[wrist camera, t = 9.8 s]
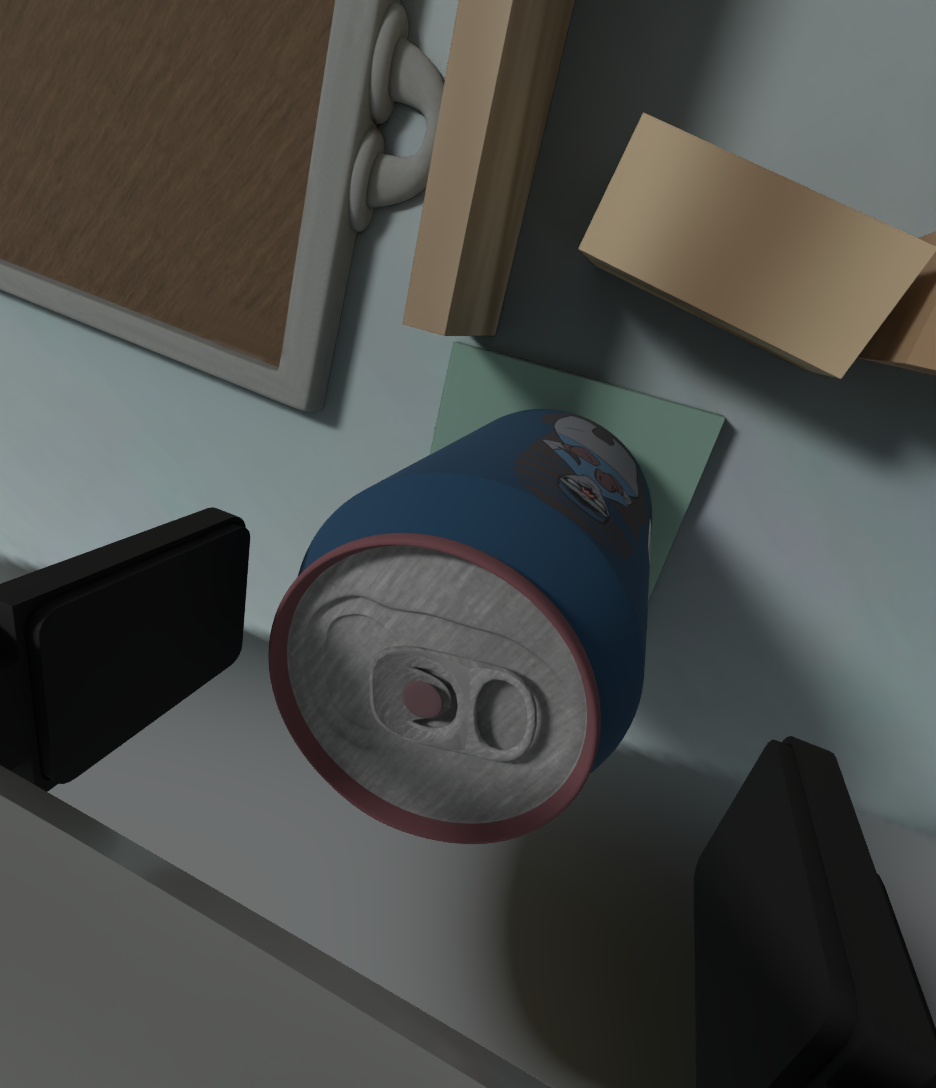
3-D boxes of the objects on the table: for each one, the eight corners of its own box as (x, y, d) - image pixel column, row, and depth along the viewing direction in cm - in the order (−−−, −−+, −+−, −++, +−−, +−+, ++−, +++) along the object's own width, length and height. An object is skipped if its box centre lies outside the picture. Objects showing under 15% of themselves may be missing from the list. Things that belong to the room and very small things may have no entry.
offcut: (875, 267, 16) (938, 247, 12) (803, 369, 17) (841, 378, 13) (647, 161, 16) (643, 112, 13) (595, 266, 18) (577, 248, 14)
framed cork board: (-337, -470, 18) (553, -357, 13) (-262, -410, 19) (564, -288, 14) (-212, 206, 26) (369, 440, 21) (-166, 213, 27) (388, 433, 22)
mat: (723, 415, 18) (725, 417, 17) (626, 648, 22) (625, 656, 21) (459, 341, 20) (453, 342, 19) (410, 568, 23) (404, 574, 23)
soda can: (451, 579, 22) (254, 811, 11) (458, 395, 20) (214, 472, 9) (636, 611, 20) (608, 924, 10) (669, 413, 18) (682, 536, 7)
